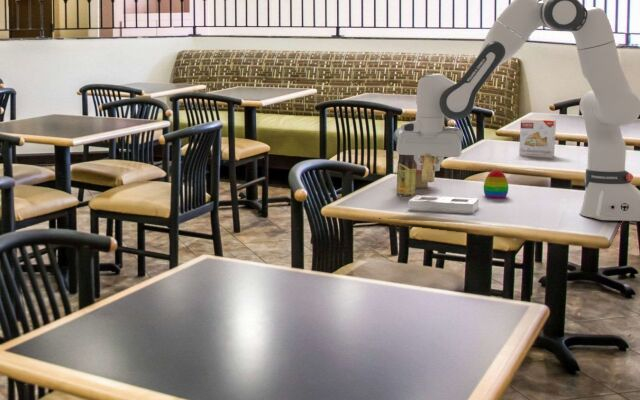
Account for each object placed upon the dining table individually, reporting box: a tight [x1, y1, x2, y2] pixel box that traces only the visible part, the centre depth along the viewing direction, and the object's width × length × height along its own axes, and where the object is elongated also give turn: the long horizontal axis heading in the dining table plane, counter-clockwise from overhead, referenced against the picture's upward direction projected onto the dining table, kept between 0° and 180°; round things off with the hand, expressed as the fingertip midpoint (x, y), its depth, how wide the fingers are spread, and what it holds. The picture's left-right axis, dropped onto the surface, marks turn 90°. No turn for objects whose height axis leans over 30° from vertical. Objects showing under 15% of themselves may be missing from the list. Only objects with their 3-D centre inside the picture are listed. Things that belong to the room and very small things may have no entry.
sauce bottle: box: [396, 154, 416, 197], centre depth 312 cm, size 7×6×20 cm
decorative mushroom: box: [415, 155, 438, 189], centre depth 327 cm, size 13×13×15 cm
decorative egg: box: [483, 169, 509, 200], centre depth 312 cm, size 8×8×10 cm
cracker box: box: [518, 118, 557, 159], centre depth 396 cm, size 14×6×21 cm, turn 67°
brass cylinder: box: [421, 153, 436, 183], centre depth 292 cm, size 4×4×9 cm
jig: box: [408, 194, 479, 215], centre depth 292 cm, size 20×12×3 cm, turn 73°
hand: (428, 170), depth 292 cm, fingers closed on brass cylinder, 4 cm apart
